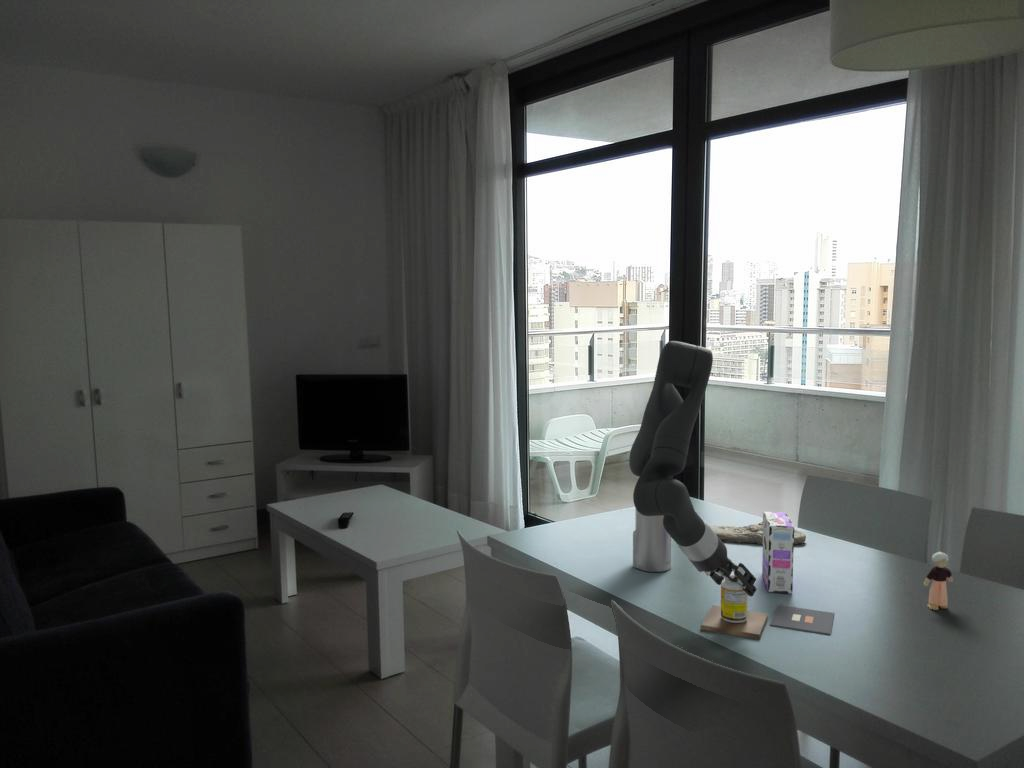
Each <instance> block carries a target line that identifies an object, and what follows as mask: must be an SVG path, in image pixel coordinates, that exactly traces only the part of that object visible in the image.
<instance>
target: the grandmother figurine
mask: <svg viewBox="0 0 1024 768" xmlns="http://www.w3.org/2000/svg"><path fill="white" fill-rule="evenodd" d="M931 559H932V562H933V563H934V565H935V566H933V567H932V568H931V569H930V571H928V572H929V573H928V574H927V575H926V577H925V579H924V581H923V584H922V585H923V586H924V587H928V586H929V585H930V583H931V582H932V583H931V585H930V589H929V592H928V593H929V594H928V601H927V602H928V604H926V607H927V608H928V607H929V608H928V609H930V610H932V609H933V611H938V610H939V609H948V590H947V581H948V582H949V583H952V582H954V578H953V575H952V572H951V571H950V569H949V568H947V565H948V561H949V555H948V554H946V553H945V552H942V551H938V552H935V553H933V554H932V556H931ZM939 607H940V608H939Z"/></svg>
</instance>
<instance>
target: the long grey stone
mask: <svg viewBox="0 0 1024 768" xmlns="http://www.w3.org/2000/svg"><path fill="white" fill-rule="evenodd" d="M708 526H709V527H710V528H711V529H712V530H713V531H714V533H715V534H716V535H717V536H718V537H719V539H720V540H721V541H722V542H724V541H729V542H728V543H735V542H738V543H737V544H743V543H744V542H746V543H744V544H747V543H748V544H749V543H750V544H758V545H763V521H762V522H759V523H757V524H749V525H747V526H745V525H744V526H739V527H738V526H733V525H732V526H728V525H727V526H725V525H724V526H723V525H721V526H719V525H708ZM806 539H807V536H806V534H805V533H804V532H802V531H799V530H796V529H795V528H794V545H797V544H804V543H805V542H806ZM741 542H743V543H741Z"/></svg>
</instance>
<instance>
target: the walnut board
mask: <svg viewBox="0 0 1024 768" xmlns="http://www.w3.org/2000/svg"><path fill="white" fill-rule="evenodd" d="M747 615H748V616H747V620H746V621H745V622H742V623H730V622H727V621H725V620H723V619H722V617H721V605H720V606H719V605H711V607H710V609H709V610H708V612H707V613H706V616H705V617H704V618H703V621H702V623H701V624H700V630H701V631H705V632H706V631H708V632H713V633H719V634H725V635H731V636H738V637H742V638H743V637H744V638H749V639H756V640H761V639H760V638H761V637H762V634H763V631H764V629H765V627H766V625H767V621H768V619H769V613H766V612H759V611H753V610H752V611H751V610H748V614H747Z"/></svg>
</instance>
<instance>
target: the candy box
mask: <svg viewBox="0 0 1024 768" xmlns="http://www.w3.org/2000/svg"><path fill="white" fill-rule="evenodd" d="M762 522H763V544H762V562H761V563H762V569H761V572H762V573H761V574H762V575H761V576H763V581H764V583H765V585H766V589H767V593H776V594H777V593H779V594H782V593H783V594H793V588H794V587H793V586H794V585H793V584H794V583H793V582H794V581H793V580H794V550H795V549H794V548H795V546H794V545H795V544H794V529H795V526H794V524H793V522H792V521H791V519H790V517H789V515H788V514H787V512H784V511H783V512H782V511H763V512H762Z"/></svg>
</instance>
